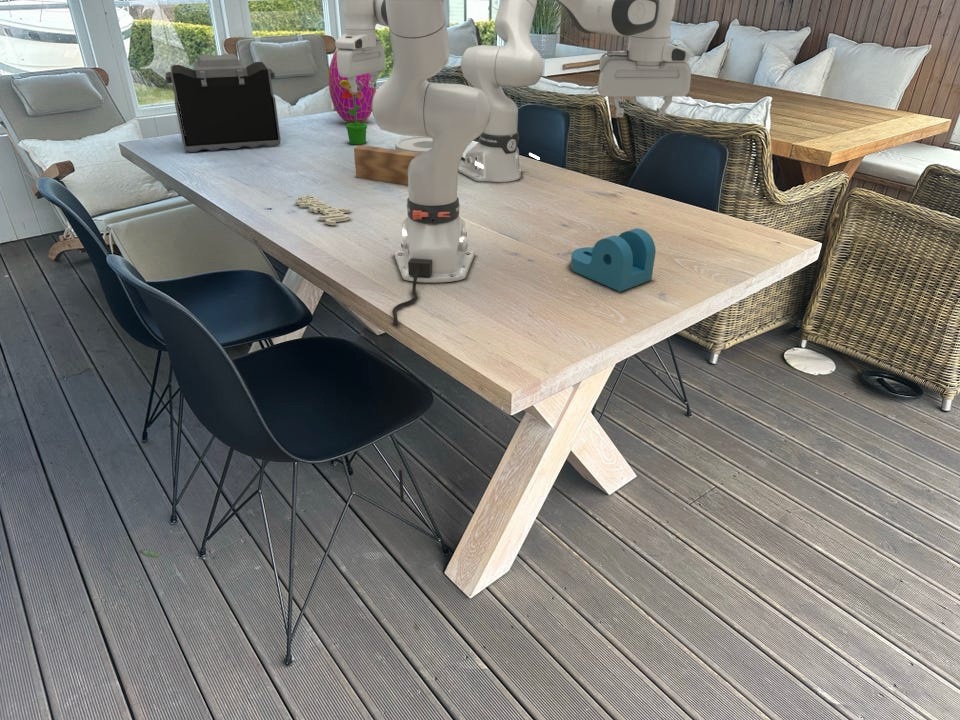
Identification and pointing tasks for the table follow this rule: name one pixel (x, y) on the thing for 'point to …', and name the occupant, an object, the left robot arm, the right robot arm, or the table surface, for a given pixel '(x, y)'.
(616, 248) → the camera mount
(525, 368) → the table surface
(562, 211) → the table surface
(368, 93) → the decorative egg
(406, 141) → the ashtray
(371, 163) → the bar
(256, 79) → the electronic device
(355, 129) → the potted flower
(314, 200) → the decorative sign
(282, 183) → the table surface
